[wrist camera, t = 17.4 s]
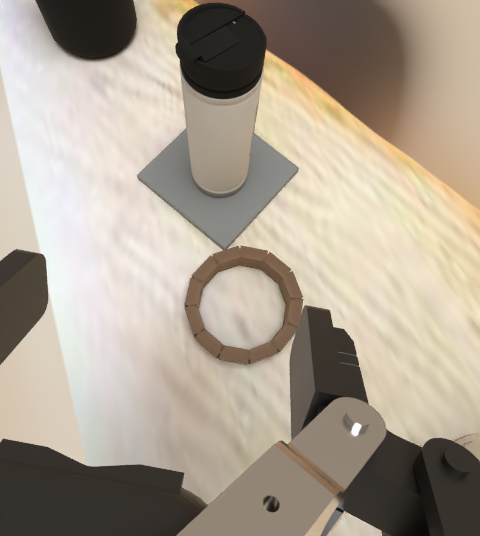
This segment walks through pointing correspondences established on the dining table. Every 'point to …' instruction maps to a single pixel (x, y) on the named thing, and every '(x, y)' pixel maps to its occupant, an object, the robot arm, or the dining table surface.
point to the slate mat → (218, 208)
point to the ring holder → (253, 260)
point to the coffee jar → (90, 25)
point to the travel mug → (220, 92)
